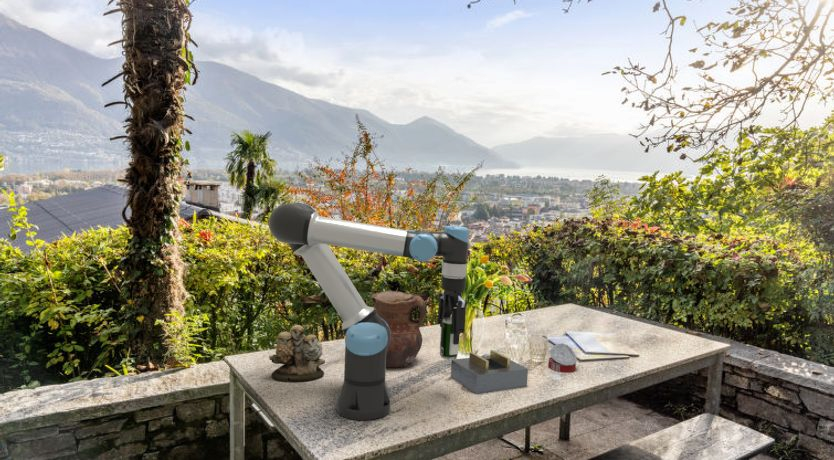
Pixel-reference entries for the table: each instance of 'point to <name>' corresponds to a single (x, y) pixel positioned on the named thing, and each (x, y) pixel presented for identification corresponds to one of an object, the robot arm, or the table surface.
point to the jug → (401, 325)
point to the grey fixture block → (488, 373)
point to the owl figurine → (297, 356)
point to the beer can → (446, 338)
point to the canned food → (562, 359)
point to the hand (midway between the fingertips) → (448, 351)
